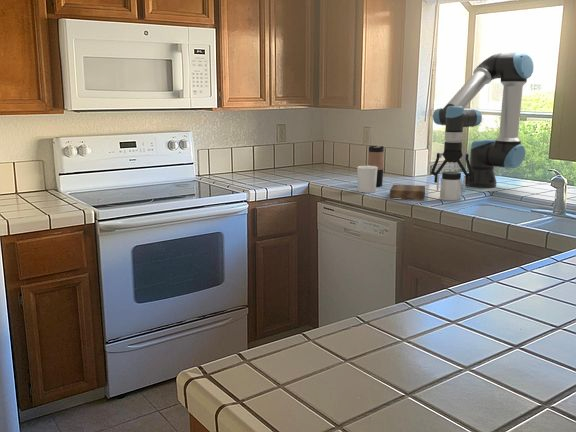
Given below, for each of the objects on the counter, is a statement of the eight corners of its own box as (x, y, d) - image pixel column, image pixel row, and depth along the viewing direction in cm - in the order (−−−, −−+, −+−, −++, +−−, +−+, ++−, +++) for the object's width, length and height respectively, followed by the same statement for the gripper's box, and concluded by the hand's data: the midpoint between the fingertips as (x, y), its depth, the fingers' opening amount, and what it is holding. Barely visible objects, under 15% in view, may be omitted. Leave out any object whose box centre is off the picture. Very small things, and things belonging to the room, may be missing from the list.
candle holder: (375, 189, 293) (375, 165, 290) (378, 193, 283) (379, 168, 281) (355, 189, 293) (355, 165, 290) (358, 193, 283) (358, 168, 280)
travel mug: (371, 187, 299) (372, 147, 294) (365, 184, 306) (366, 146, 302) (385, 186, 301) (386, 147, 296) (379, 184, 308) (380, 145, 304)
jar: (452, 201, 263) (454, 174, 260) (436, 199, 269) (438, 173, 266) (463, 198, 269) (465, 172, 266) (447, 196, 275) (448, 170, 272)
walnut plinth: (424, 194, 281) (425, 185, 280) (423, 200, 266) (423, 191, 266) (392, 192, 284) (393, 184, 283) (389, 198, 270) (390, 190, 269)
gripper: (426, 141, 262) (423, 190, 267) (481, 142, 256) (477, 193, 261) (426, 140, 269) (424, 187, 274) (480, 141, 263) (477, 190, 268)
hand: (450, 190), depth 268 cm, fingers open, 11 cm apart
